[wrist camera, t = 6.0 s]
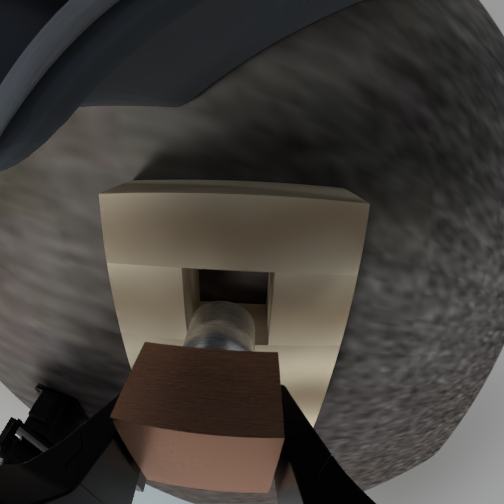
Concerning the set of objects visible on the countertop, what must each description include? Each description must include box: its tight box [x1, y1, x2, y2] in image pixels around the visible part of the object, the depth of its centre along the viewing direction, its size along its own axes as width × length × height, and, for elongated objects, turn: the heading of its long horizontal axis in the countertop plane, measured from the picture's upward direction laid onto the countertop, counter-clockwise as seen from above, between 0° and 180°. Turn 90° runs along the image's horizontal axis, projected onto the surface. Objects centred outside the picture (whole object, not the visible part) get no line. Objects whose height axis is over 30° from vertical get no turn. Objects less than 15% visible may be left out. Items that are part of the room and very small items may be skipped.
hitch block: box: [99, 180, 370, 427], centre depth 17 cm, size 18×12×4 cm, turn 177°
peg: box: [110, 301, 285, 493], centre depth 9 cm, size 4×4×7 cm
